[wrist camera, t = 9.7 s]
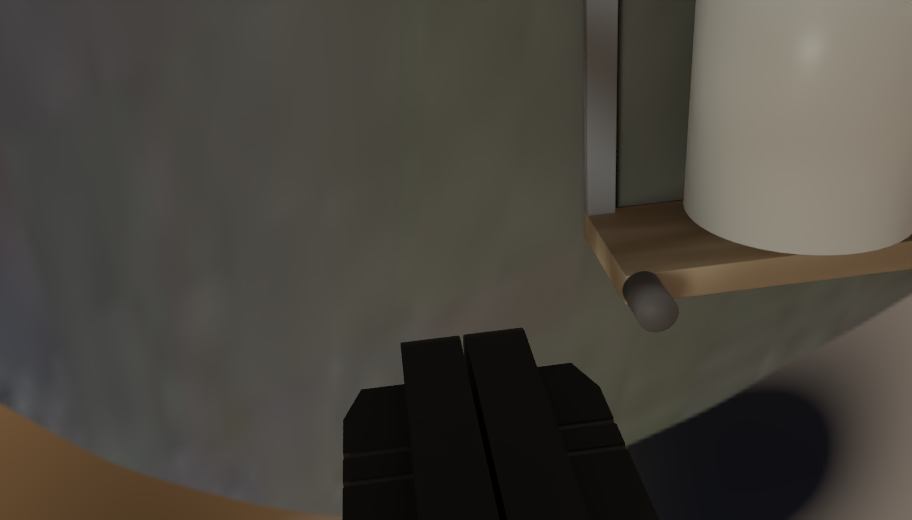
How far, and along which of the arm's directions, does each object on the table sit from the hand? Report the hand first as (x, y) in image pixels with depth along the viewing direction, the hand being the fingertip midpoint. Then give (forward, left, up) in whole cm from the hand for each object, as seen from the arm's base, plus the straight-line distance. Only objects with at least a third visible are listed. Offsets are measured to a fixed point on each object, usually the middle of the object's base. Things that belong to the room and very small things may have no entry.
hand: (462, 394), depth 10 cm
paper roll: (0, +12, -15) cm, 19 cm away
